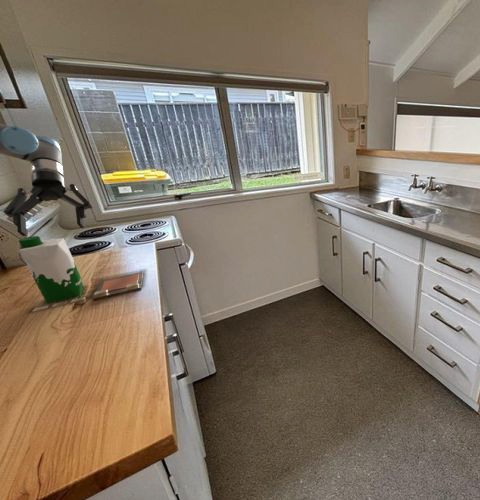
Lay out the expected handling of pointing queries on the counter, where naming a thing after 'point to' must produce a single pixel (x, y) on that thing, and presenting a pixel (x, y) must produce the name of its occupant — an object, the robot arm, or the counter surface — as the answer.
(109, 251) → the counter surface
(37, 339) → the counter surface
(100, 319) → the counter surface
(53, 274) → the soya milk
